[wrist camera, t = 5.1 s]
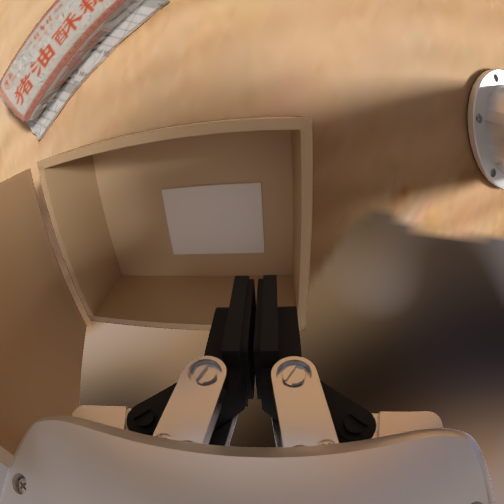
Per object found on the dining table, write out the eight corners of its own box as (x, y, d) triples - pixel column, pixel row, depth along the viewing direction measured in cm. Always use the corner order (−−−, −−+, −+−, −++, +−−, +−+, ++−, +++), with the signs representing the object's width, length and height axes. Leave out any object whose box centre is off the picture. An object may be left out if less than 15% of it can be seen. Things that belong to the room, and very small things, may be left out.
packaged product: (99, -60, 6) (152, -17, 10) (123, -42, 10) (174, 4, 14) (-17, 88, 12) (13, 150, 16) (13, 84, 16) (45, 139, 20)
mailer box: (298, 116, 18) (312, 118, 12) (298, 276, 25) (305, 330, 19) (89, 144, 20) (36, 162, 14) (121, 276, 27) (90, 320, 20)
